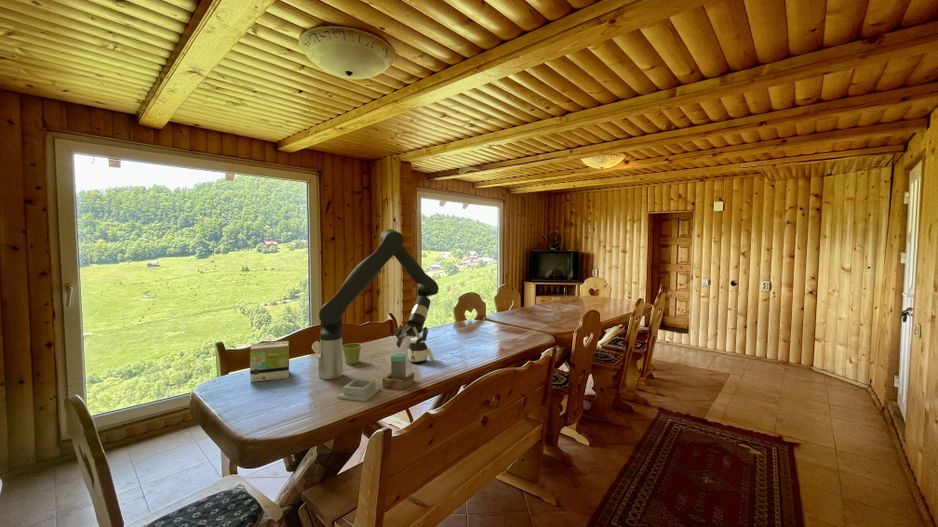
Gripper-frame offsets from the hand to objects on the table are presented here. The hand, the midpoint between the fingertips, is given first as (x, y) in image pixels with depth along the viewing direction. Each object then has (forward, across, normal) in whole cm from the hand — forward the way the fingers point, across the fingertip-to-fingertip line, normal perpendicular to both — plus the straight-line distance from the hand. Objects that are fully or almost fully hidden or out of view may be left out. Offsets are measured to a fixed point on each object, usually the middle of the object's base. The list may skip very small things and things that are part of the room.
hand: (406, 347), depth 167 cm
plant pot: (+3, -36, +17) cm, 40 cm away
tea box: (+22, -58, -3) cm, 63 cm away
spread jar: (-6, -4, +26) cm, 27 cm away
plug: (+14, 0, +3) cm, 14 cm away
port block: (+25, -10, -6) cm, 27 cm away
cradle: (+15, 0, +4) cm, 16 cm away
